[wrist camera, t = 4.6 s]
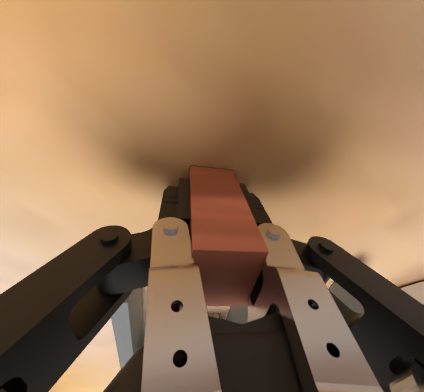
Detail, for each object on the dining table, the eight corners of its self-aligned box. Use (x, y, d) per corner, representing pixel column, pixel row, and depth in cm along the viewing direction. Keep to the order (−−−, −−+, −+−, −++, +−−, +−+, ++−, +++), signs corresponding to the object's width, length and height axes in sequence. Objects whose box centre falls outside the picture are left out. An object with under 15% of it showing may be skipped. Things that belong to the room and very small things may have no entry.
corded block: (156, 162, 11) (128, 247, 6) (262, 173, 12) (320, 253, 7) (154, 343, 22) (144, 427, 17) (209, 340, 23) (215, 419, 18)
